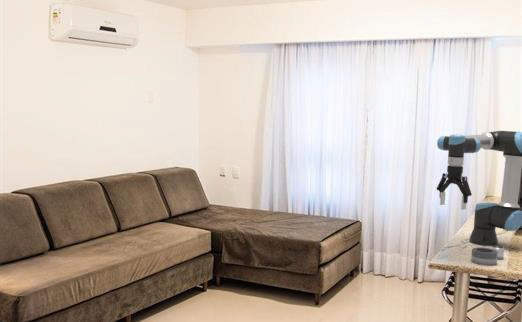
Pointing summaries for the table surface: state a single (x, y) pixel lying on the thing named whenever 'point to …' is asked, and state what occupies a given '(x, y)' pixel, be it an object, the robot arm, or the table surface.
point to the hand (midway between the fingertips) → (452, 207)
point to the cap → (499, 251)
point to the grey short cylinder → (484, 256)
